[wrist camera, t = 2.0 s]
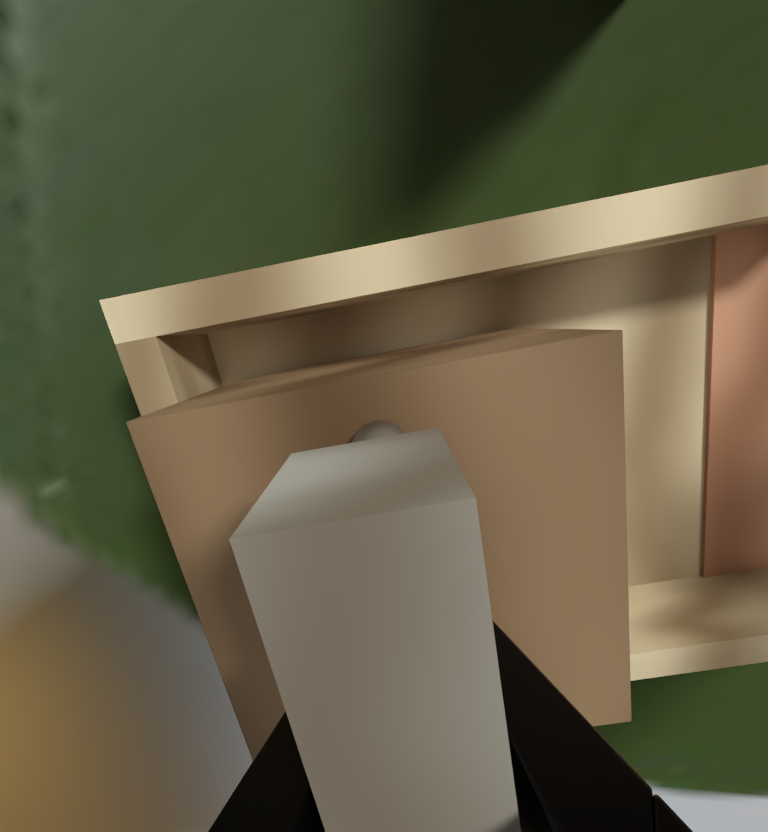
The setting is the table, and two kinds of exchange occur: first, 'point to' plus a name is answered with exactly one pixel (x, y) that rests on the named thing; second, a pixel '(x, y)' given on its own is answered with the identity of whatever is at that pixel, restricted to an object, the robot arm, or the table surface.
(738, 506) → the bay
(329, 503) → the panel with bar handle
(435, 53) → the table surface
